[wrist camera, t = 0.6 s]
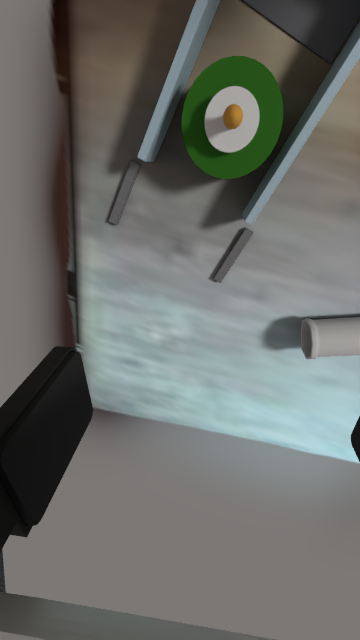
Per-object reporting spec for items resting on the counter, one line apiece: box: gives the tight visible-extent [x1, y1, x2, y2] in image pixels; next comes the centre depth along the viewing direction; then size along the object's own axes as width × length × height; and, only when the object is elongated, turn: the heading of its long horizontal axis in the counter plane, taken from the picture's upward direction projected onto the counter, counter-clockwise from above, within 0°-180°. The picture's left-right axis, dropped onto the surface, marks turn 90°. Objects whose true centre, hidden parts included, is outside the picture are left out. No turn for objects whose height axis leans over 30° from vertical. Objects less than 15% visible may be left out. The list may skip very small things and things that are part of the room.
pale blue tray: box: [137, 0, 360, 225], centre depth 24 cm, size 20×13×4 cm, turn 152°
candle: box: [181, 56, 283, 179], centre depth 23 cm, size 8×8×10 cm
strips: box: [109, 160, 253, 283], centre depth 32 cm, size 7×15×1 cm, turn 62°
